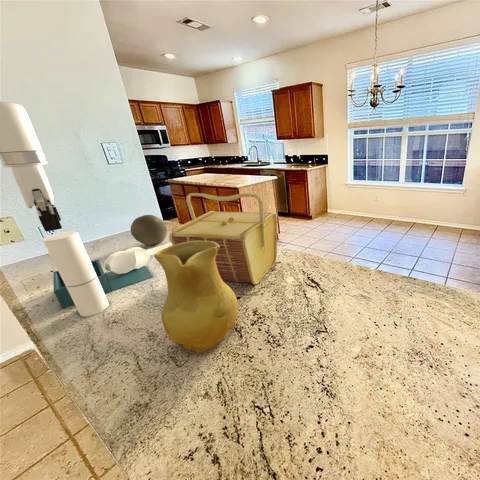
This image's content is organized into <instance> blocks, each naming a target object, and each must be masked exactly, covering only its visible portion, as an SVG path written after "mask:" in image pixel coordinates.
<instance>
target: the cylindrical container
mask: <svg viewBox="0 0 480 480" xmlns="http://www.w3.org/2000/svg"><path fill="white" fill-rule="evenodd" d="M42 242H43V243H44V246H45V248H46V250H47V252H48V253H49V256H50V258H51V260H52V262H53V264H54V266H55V267H56V271H58V272H59V274H60V276H61V278H62V280H63V282H64V284H65V286H66V288H67V290H68V292H69V294H70V296H71V298H72V300H73V302H74V306H75V308H76V309H77V312H78V314H79V316H80V317H91V316H94V315H97V314H100V313H101V312H103V311H105V310H106V309H107V308H109V306H110V303H109V301H108V299H107V296H106V294H105V293H104V291H103V289H102V287H101V284H100V282H99V280H98V277H97V275H96V273H95V271H94V268H93V266H92V264H91V261H92V260H91V259H90V257H89V254H88V253H87V250H86V248H85V245H84V244H83V241H82V239H81V237H80V234H79V232H78V231H77V230H66V231H61V232H57V233H53V234H49V235H47V236H44V237H43V238H42Z"/></svg>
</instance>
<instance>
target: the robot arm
mask: <svg viewBox="0 0 480 480" xmlns="http://www.w3.org/2000/svg"><path fill="white" fill-rule="evenodd" d="M0 161H1V163H2V166H3V168H11V172H12V174H13V178H14V179H15V182H16V185H17V187H18V189H19V191H20V194H21V196H22V198H23V201H24V203H25V205H26V207H27V208H28V209H33V207H35V209H36V212H37V215H38V219H39V221H40V224H41V226H42V229H43V231H44V232H52V231H57V230H61V229H63V226H62V224H61V220H62V218H61V216H60V214H59V212H58V210H57V207H56V206H55V205H54V204H55V198H54V194H53V190H52V187H51V185H50V181H49V179H48V176H47V175H46V172H45V169H44V167H43V166H44V165H48V164H49V163H48V160H47V158H46V155H45V153H44V151H43V150H42V147H41V143H40V141H39V139H38V137H37V134H36V132H35V129H34V127H33V125H32V122H31V120H30V117H29V114H28V113H27V111H26V109H25V107H23V106H22V104H19V103H16V102H9V101H0Z"/></svg>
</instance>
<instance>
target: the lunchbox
mask: <svg viewBox="0 0 480 480" xmlns="http://www.w3.org/2000/svg"><path fill="white" fill-rule="evenodd" d="M90 261H91V264H92V266H93V268H94V271H95V273H96V275H97V277H98V280H99V282H100V284H101V287H102V289H103V291H104V293H105V295H106V294H109V293H111V292H115V291H117V290H121V289H122V288H126V287H128V286H129V287H130V286H131V285H134V284H138V283H140V282H143V281H146V280H149V279H152V278H153V277H154V276H153V274H152V273H151V272H150V270H149V269H148V268H147V266H146V265H145V266H143V267H141V268H139V269H133V270H131V271H129V272H128V273H123V274H117V273H114V272H111V271H108V272H106V273H105V271H104V269H103V267H102V264H101V262H100V260H99V259H95V260H90ZM52 275H53V293H54V295H55V297H56V299H57V301H58V302H59V306H61V309H67V308H68V307H71V306H75V304H74V302H73V300H72V298H71V296H70V294H69V292H68V290H67V288H66V286H65V284H64V282H63V280H62V278H61V276H60V274H59V272H58V270H55V271H53V274H52Z"/></svg>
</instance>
